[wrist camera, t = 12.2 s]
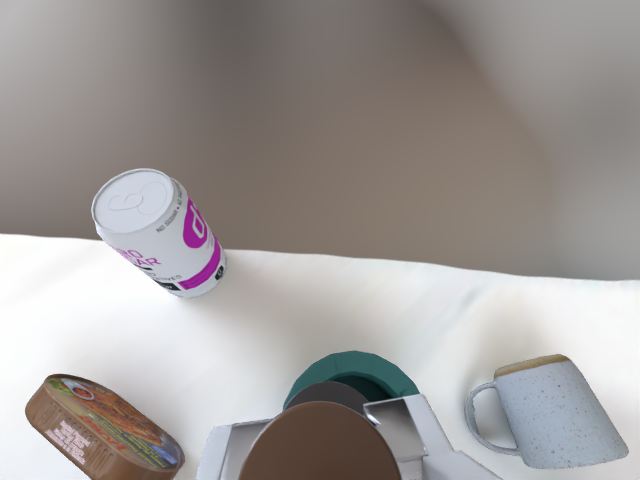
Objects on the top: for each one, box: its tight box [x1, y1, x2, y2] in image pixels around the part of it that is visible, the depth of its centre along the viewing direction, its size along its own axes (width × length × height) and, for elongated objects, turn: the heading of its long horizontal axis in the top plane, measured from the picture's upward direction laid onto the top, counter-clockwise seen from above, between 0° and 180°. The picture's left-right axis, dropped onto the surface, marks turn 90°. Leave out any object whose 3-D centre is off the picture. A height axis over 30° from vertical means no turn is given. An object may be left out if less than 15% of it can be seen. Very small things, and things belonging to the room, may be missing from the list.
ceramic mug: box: [465, 354, 629, 469], centre depth 29 cm, size 11×8×8 cm
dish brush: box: [238, 381, 402, 480], centre depth 11 cm, size 5×5×16 cm
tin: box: [25, 374, 185, 480], centre depth 28 cm, size 15×3×8 cm, turn 60°
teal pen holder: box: [282, 351, 420, 412], centre depth 27 cm, size 11×11×11 cm
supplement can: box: [91, 169, 226, 298], centre depth 34 cm, size 8×8×15 cm
